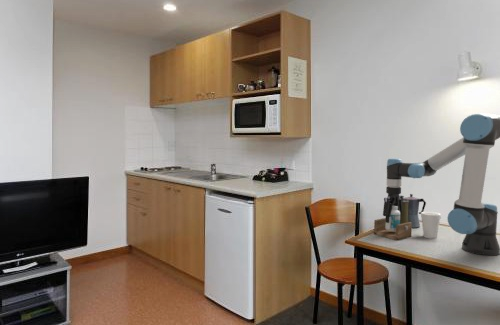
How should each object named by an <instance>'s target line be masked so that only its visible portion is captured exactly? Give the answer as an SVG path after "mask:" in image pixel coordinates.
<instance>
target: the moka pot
mask: <svg viewBox="0 0 500 325" xmlns="http://www.w3.org/2000/svg"><path fill="white" fill-rule="evenodd" d="M413 195H414V194H412V193H410V194H409V196H408V197H403V199H405V200H408V201H409V202H408V222H411V223H412V228H416V229H417V228H420V227H421V223H420V218H419V215H421V212H425V211H424V210H425V208H426V206H427V202H426V201H425V200H424V198H418V197H414V196H413ZM420 203H423V205H422V208H421V211H420V212H419V210H420V209H419V208H420Z"/></svg>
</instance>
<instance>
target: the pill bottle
mask: <svg viewBox="0 0 500 325" xmlns="http://www.w3.org/2000/svg"><path fill="white" fill-rule="evenodd" d="M397 209H398V206H393V207H392V211H391V215H390V217H391V229H388V228H386V223H385V229H386V230H388V231H396V225H398V224H400V211H398V210H397Z"/></svg>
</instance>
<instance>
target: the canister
mask: <svg viewBox="0 0 500 325" xmlns="http://www.w3.org/2000/svg"><path fill="white" fill-rule="evenodd" d="M401 196H402V197H403V198H405V196H404V195H401ZM403 198H402V207H403V213H402V215H400V224H403V223H407V222H408V202H409V201H408V200H405V199H403ZM393 206H394V205H393Z"/></svg>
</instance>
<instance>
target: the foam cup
mask: <svg viewBox="0 0 500 325" xmlns="http://www.w3.org/2000/svg"><path fill="white" fill-rule="evenodd" d="M420 212H421V211H420ZM441 216H442V214H441V213H439V212H435V211H423V212H421V214H420V217H421V224H422V225H421V226H422V235H423V237H424V238H427V239H437V237H438V232H439V226H440V221H441V218H442V217H441Z"/></svg>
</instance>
